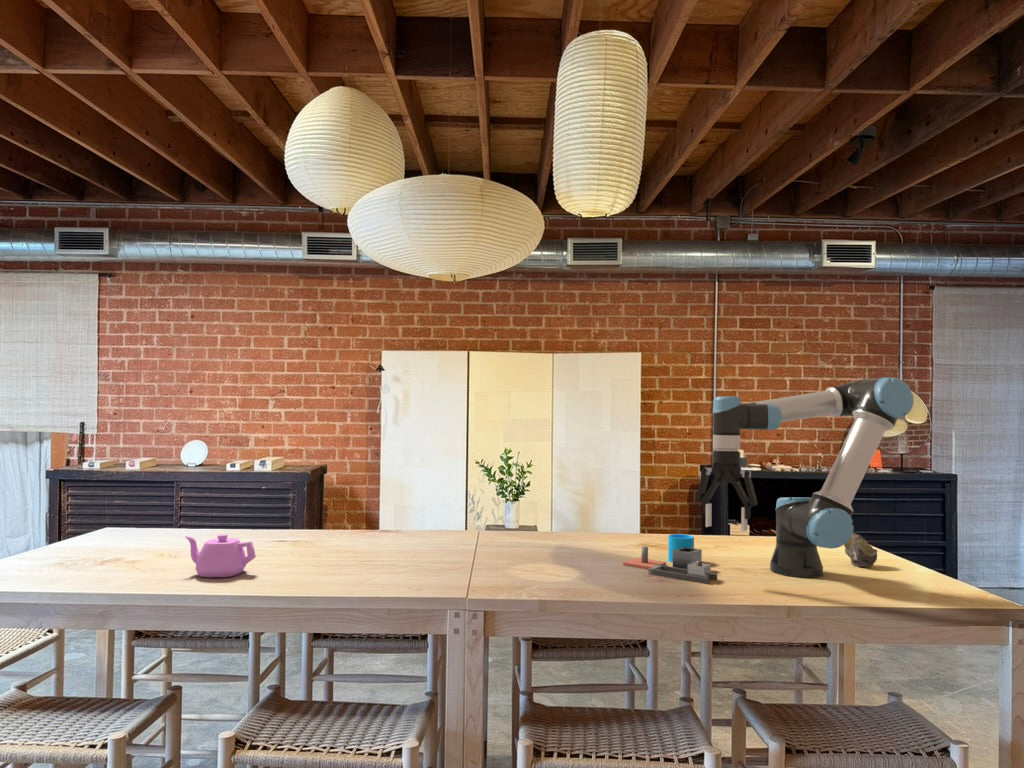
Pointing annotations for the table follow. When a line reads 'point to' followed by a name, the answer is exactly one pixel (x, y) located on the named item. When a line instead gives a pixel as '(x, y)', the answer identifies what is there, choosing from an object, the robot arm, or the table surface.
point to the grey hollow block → (686, 557)
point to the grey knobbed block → (699, 569)
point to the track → (679, 574)
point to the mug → (678, 543)
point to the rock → (860, 551)
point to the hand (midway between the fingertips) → (726, 528)
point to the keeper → (643, 561)
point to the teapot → (221, 556)
